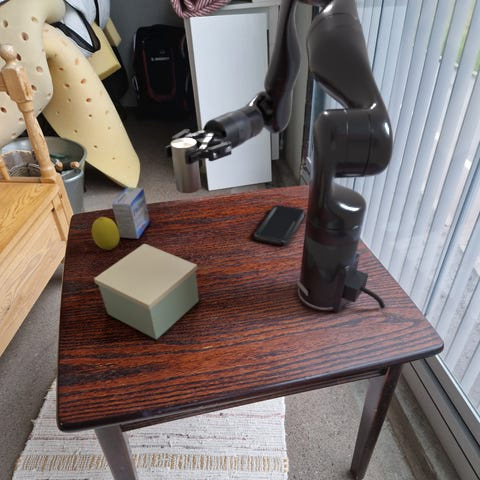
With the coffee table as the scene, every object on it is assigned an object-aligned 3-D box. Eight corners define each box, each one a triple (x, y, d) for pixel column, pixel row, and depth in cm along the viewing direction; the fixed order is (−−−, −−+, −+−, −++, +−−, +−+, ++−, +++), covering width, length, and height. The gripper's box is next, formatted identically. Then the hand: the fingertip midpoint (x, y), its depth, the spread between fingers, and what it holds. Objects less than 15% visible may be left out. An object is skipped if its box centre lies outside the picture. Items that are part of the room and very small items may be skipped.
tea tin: (205, 185, 95) (201, 140, 88) (190, 195, 92) (185, 149, 85) (186, 180, 97) (181, 136, 90) (171, 189, 94) (165, 144, 87)
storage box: (201, 300, 80) (197, 264, 74) (156, 341, 72) (148, 305, 66) (151, 278, 85) (144, 243, 79) (105, 314, 77) (93, 278, 72)
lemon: (92, 254, 91) (82, 221, 86) (106, 240, 95) (97, 208, 90) (114, 259, 90) (105, 226, 84) (127, 245, 94) (119, 213, 88)
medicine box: (138, 239, 95) (130, 205, 89) (119, 237, 96) (111, 203, 90) (150, 221, 101) (144, 187, 95) (133, 220, 101) (125, 186, 95)
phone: (252, 235, 93) (275, 203, 103) (252, 239, 94) (275, 208, 104) (286, 242, 91) (306, 209, 101) (286, 247, 92) (305, 214, 102)
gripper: (203, 108, 98) (149, 130, 88) (252, 121, 91) (199, 146, 81) (206, 141, 103) (155, 165, 93) (252, 155, 96) (202, 182, 87)
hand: (176, 156), depth 87 cm, fingers closed on tea tin, 5 cm apart
